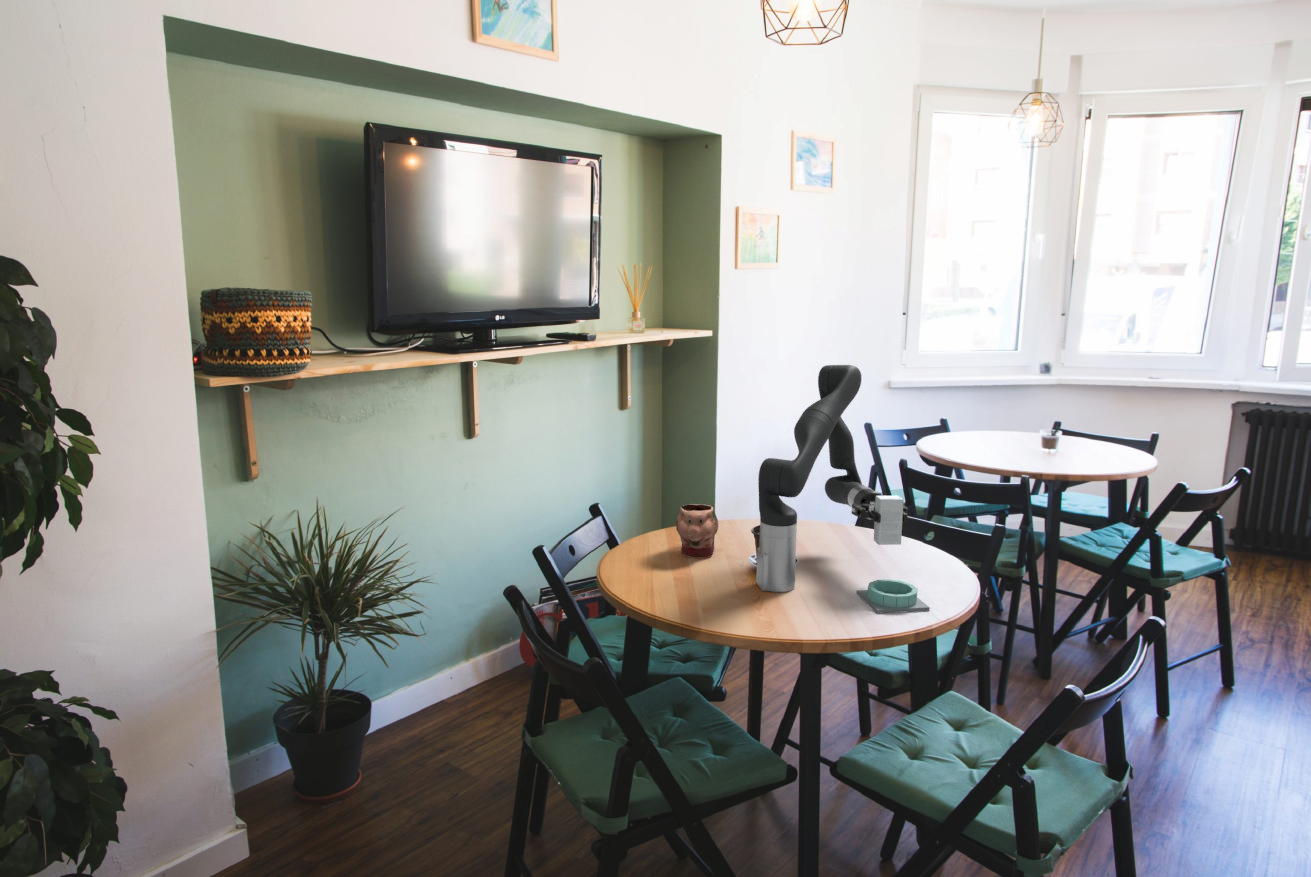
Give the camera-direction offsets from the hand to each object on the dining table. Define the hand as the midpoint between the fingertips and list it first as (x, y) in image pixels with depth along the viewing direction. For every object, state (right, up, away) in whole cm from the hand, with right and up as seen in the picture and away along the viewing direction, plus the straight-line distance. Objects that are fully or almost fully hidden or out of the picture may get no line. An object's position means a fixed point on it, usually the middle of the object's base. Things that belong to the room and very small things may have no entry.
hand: (892, 518), depth 202 cm
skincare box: (0, -7, +4) cm, 8 cm away
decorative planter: (-48, -13, +32) cm, 59 cm away
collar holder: (-2, -20, -6) cm, 21 cm away
